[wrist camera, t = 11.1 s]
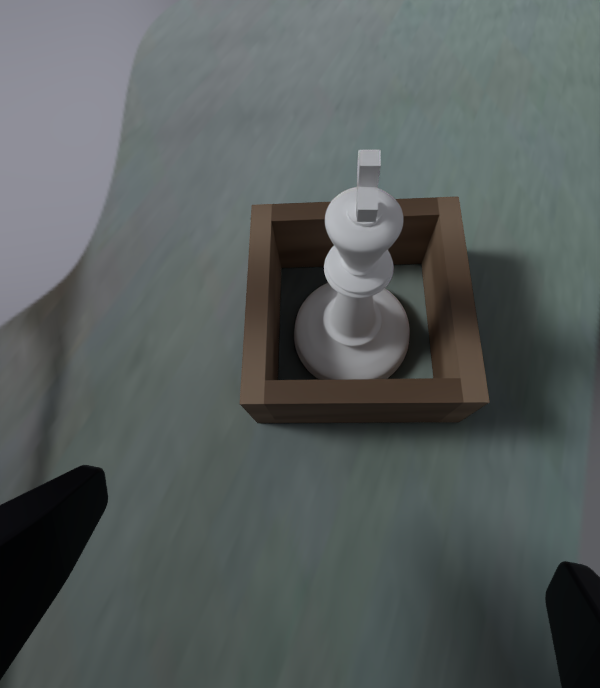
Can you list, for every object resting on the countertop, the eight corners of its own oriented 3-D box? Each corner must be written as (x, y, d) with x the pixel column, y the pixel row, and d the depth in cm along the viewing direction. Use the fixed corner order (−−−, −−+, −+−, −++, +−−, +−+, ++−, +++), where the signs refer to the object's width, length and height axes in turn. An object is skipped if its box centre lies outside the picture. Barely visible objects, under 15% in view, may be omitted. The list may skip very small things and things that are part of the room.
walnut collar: (458, 422, 17) (489, 402, 13) (257, 422, 17) (239, 403, 14) (437, 248, 20) (458, 196, 16) (264, 253, 20) (251, 204, 17)
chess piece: (407, 284, 19) (479, 72, 10) (410, 391, 17) (503, 259, 8) (297, 282, 19) (265, 77, 10) (290, 387, 18) (244, 256, 8)
